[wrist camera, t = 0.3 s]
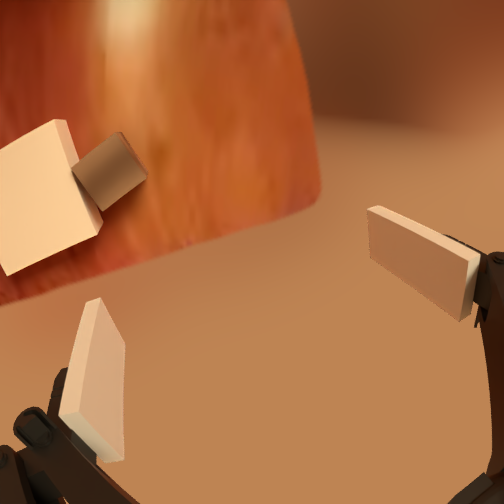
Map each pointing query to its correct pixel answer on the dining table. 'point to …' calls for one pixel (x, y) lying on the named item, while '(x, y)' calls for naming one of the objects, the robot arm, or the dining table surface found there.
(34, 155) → the cream block
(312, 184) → the dining table surface
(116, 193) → the walnut cube
